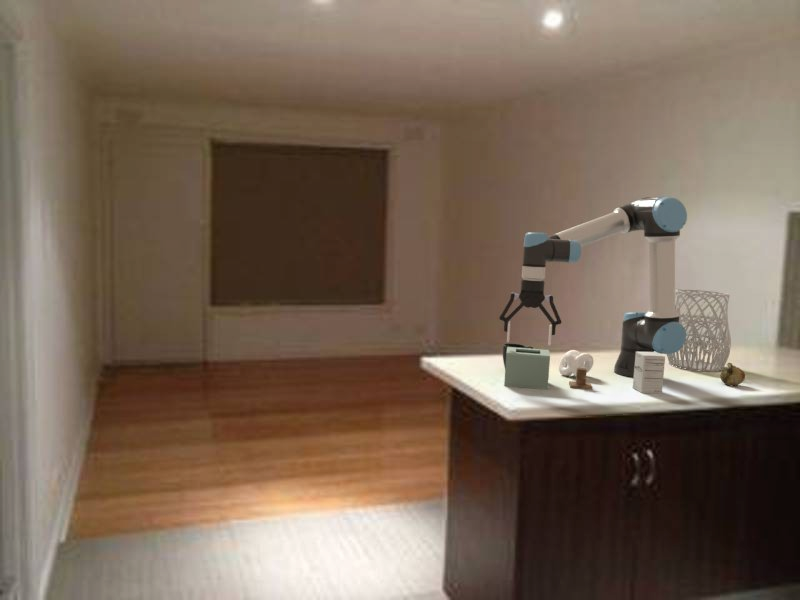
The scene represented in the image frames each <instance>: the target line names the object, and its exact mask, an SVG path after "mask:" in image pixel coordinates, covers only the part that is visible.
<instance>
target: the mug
mask: <svg viewBox="0 0 800 600" xmlns="http://www.w3.org/2000/svg"><path fill="white" fill-rule="evenodd" d="M507 347H516V348H529V349H534V347H533V346H530V345H529V346H528V345H527V346H526V345H525V344H521V343H503V345H502V361H503V366H504V368H505V367H506V352H507Z"/></svg>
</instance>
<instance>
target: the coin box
mask: <svg viewBox="0 0 800 600" xmlns="http://www.w3.org/2000/svg"><path fill="white" fill-rule="evenodd" d="M550 360H551V354H550V349H542V348H533V349H530V348H516V347H507V352H506V367H504V384H503V386H506V387H515V388H526V389H527V388H528V389H539V390H540V389H541V390H548V389H549V388H548V387H549V378H550V375H549V373H550V362H551V361H550Z"/></svg>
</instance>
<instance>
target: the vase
mask: <svg viewBox="0 0 800 600" xmlns="http://www.w3.org/2000/svg"><path fill="white" fill-rule="evenodd" d="M683 295H684V296H683ZM730 296H731V295H730V293H727V292H721V291H720V292H719V291H714V290H701V289H700V290H699V289H675V311H676V312H677V313H678V314H679V323H680V324H682V325H683V327H684V328H685V330H686V340H685V343H684V345H683V346H682V347H681V348H680V350H679V351H677V352H675V353H673V354H666V358H667V361H668V364H669V363H670V364H671V365H670V364H669V365H670V366H672V365H673V366H672V367H674V366H677V367H676V368H678V367H681V368H680V369H682V368H686V369H685V370H688V369H692V370H691V371H696V370H700V371H699V372H720V371H719V370H721V371H723V370H722V369H721V367H722V366H723V367H726V366H725V365H727V363H728V360H729V356H730V353H731V346H732V340H731V333H730V329H729V321H728V319H729V318H728V308H729V307H728V306H729V305H728V304H729V299H730ZM698 297H700V299H698V300H696V298H698ZM711 298H713V299H712V301H709V300H710V299H711ZM679 299H680V301H679ZM689 299H690V300H691V301H690V302H688V304H687V301H688V300H689ZM702 300H703V301H702ZM721 300H722V301H721ZM700 301H701V302H702V303H701V304H699V303H700ZM715 301H716V302H715ZM693 302H694V303H693ZM714 302H715V303H714ZM692 303H693V304H692ZM705 303H707V304H706V306H704V308H702V306H703V305H705ZM713 303H714V305H712V304H713ZM683 304H684V305H685V308H684V310H683V311H682V312H681V308H682V306H683ZM691 304H692V305H691ZM690 305H691V306H690ZM716 305H718V306H717V307H716ZM689 306H690V307H689ZM695 306H697V309H696V310H695V312H694V313H693V314H692V313H691V310H692V309H693V308H694V307H695ZM709 307H710V310H709V312H708V313H707V314H706V315H705V313H704V312H705V311H706V310H707V309H708V308H709ZM715 307H716V309H714V308H715ZM719 309H720V313H719V315H718V314H717V312H719ZM699 311H700V313H699V314H698V312H699ZM685 312H686V313H685ZM684 313H685V314H684ZM711 313H712V314H713V315H712V316H710V315H711ZM697 314H698V315H697ZM721 316H722V317H721ZM702 319H703V320H702ZM696 324H697V325H696ZM684 325H685V326H684ZM689 327H690V328H689ZM688 329H689V330H688ZM703 329H706V330H704V332H703ZM699 330H700V332H699ZM714 332H715V333H714ZM690 337H691V338H690ZM698 347H699V348H698ZM698 349H699V351H698ZM706 355H707V359H705V358H706ZM705 360H706V361H705ZM710 361H711V362H710Z"/></svg>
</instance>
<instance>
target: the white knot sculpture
mask: <svg viewBox="0 0 800 600" xmlns="http://www.w3.org/2000/svg"><path fill="white" fill-rule="evenodd" d="M593 366H594V357H593V356H592V355H591V354H590V353H587V352H584V353H581V352H580V351H578V350H577V349H576V350H575V349H570V350H568V351H567V352H565V353H564V354H563V355H562V356H561V358H560V360H559V362H558V372H559V373H560V374H561V375H562V376H564V377H569V376H571V375H574V377H576V371H577V368H586V370H587V372H586V374H587V373H589V372H590V371H591V370H592V368H593Z"/></svg>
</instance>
